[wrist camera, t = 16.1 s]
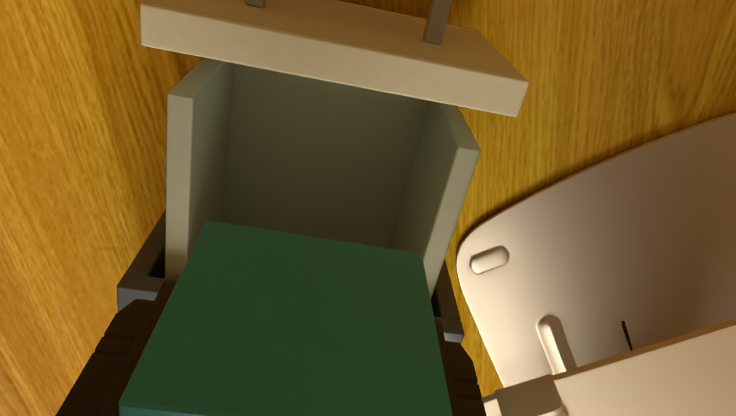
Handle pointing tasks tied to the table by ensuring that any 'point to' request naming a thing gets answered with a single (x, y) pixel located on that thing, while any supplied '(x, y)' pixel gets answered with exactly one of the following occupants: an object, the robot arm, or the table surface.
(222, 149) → the drawer with bar handle
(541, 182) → the table surface
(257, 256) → the block
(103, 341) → the robot arm
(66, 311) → the table surface
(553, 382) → the laptop stand
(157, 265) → the small drawer unit
